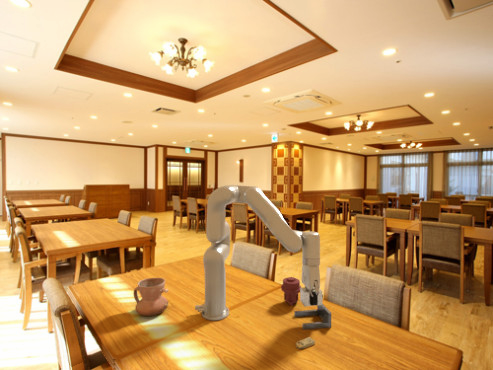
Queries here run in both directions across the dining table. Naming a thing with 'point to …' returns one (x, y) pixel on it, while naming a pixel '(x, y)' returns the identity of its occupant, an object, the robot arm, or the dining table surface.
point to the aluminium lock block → (306, 294)
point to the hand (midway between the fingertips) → (311, 301)
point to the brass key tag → (305, 343)
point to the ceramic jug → (151, 296)
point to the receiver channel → (320, 311)
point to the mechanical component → (291, 289)
